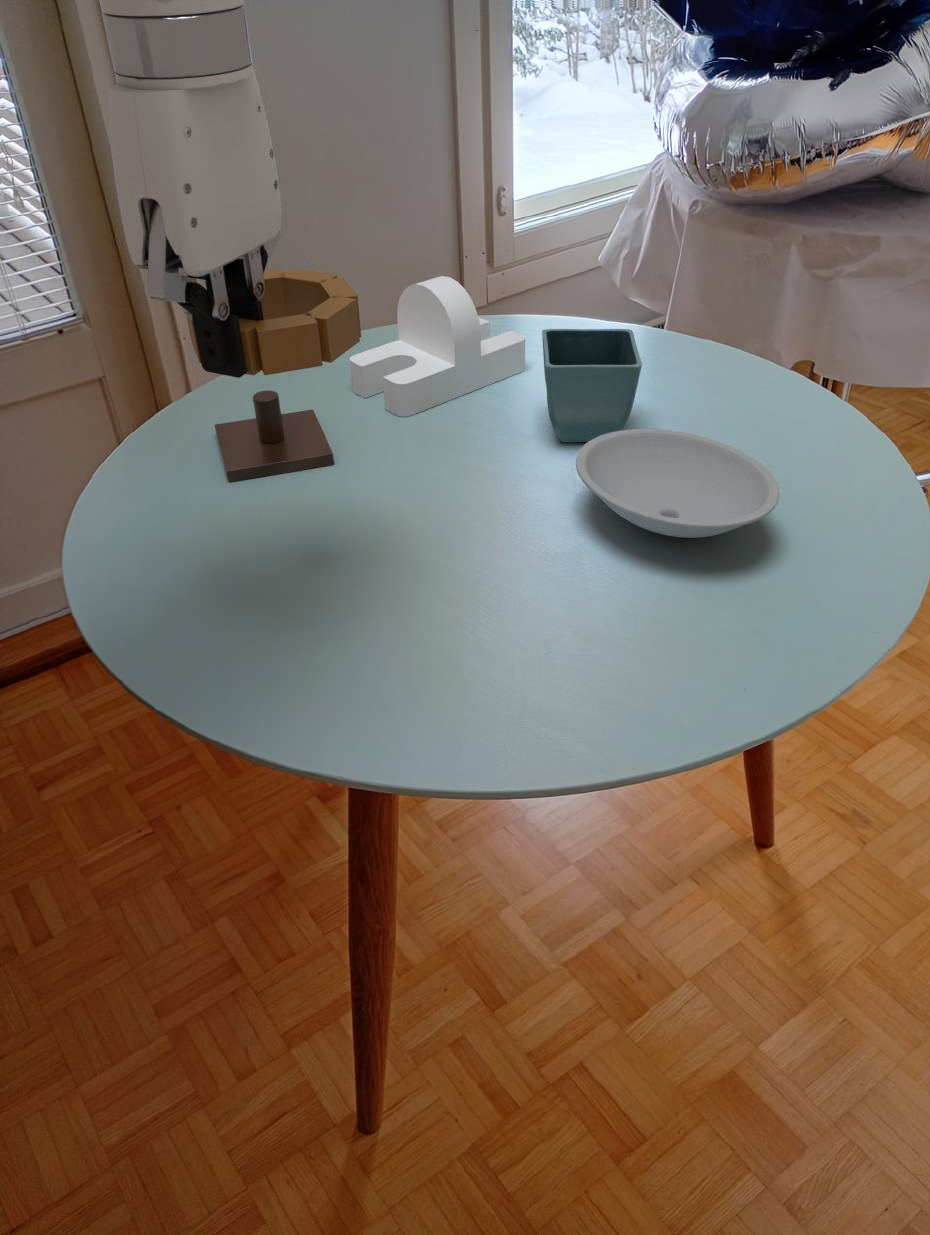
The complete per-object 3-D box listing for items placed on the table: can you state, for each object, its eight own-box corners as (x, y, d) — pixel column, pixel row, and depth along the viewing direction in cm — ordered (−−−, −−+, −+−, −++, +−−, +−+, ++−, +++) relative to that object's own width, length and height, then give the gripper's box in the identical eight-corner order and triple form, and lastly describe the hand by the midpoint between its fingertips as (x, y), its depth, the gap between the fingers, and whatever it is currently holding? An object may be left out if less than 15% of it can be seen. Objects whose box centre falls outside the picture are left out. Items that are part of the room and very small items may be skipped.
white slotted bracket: (529, 368, 110) (531, 272, 103) (402, 418, 101) (396, 316, 94) (472, 344, 116) (471, 251, 109) (348, 389, 107) (338, 291, 100)
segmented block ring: (207, 385, 63) (199, 340, 61) (184, 324, 71) (176, 282, 69) (376, 357, 66) (372, 313, 64) (334, 301, 74) (330, 261, 72)
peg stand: (228, 482, 91) (218, 427, 88) (216, 435, 99) (206, 382, 95) (334, 464, 94) (328, 409, 90) (314, 419, 101) (308, 367, 98)
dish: (535, 517, 86) (537, 466, 82) (640, 460, 93) (644, 411, 90) (703, 603, 75) (712, 549, 72) (805, 531, 83) (816, 479, 80)
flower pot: (634, 453, 94) (643, 364, 89) (542, 453, 94) (545, 365, 89) (624, 412, 101) (632, 327, 96) (538, 412, 101) (541, 328, 96)
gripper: (211, 25, 61) (257, 316, 72) (22, 69, 49) (112, 405, 61) (315, 29, 58) (345, 330, 69) (140, 77, 47) (211, 426, 58)
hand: (236, 363), depth 65 cm, fingers closed on segmented block ring
